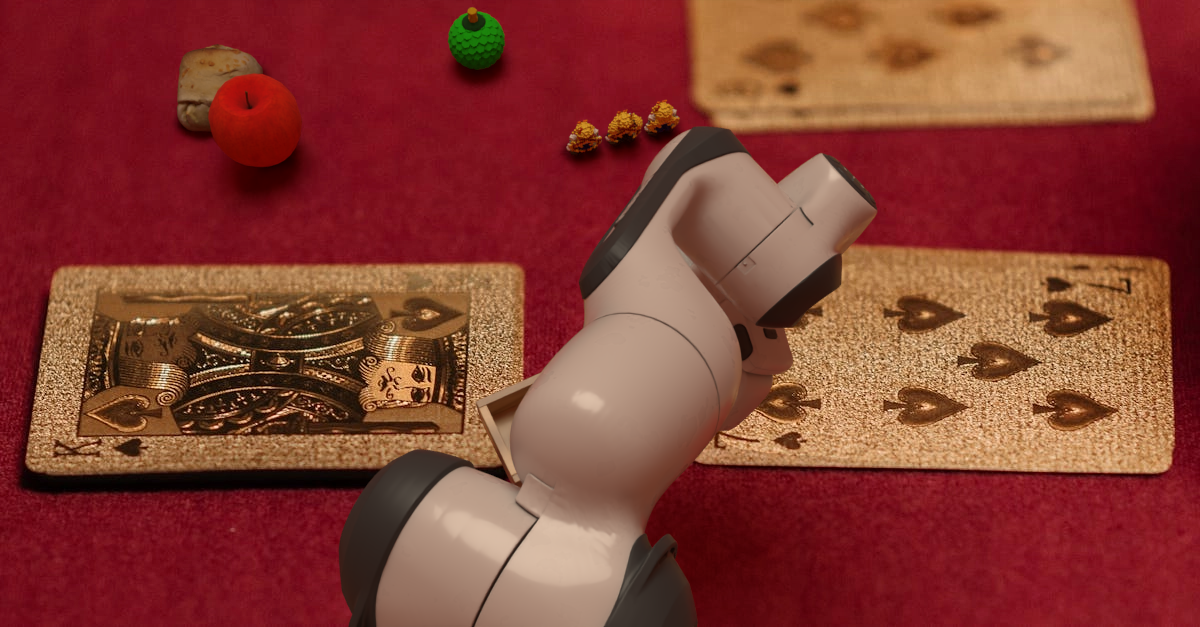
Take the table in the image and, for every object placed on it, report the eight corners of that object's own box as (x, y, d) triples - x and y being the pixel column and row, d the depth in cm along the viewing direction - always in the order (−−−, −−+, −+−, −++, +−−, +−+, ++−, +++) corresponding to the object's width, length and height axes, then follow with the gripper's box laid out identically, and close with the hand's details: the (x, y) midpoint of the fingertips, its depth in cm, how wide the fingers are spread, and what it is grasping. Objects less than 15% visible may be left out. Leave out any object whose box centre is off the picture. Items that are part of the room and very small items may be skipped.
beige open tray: (623, 447, 104) (623, 432, 101) (517, 497, 102) (514, 483, 98) (582, 371, 108) (581, 354, 105) (479, 417, 106) (475, 401, 102)
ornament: (512, 75, 158) (506, 25, 150) (458, 86, 157) (449, 37, 149) (500, 35, 162) (494, -16, 153) (447, 46, 161) (437, -4, 152)
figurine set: (683, 138, 152) (685, 108, 147) (571, 168, 150) (569, 138, 144) (674, 120, 154) (677, 89, 148) (564, 149, 152) (562, 119, 146)
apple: (257, 205, 147) (227, 143, 136) (212, 153, 152) (178, 89, 140) (330, 158, 151) (306, 94, 140) (283, 109, 156) (256, 43, 144)
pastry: (244, 50, 161) (227, 11, 154) (287, 101, 156) (272, 62, 149) (158, 97, 157) (137, 58, 150) (200, 150, 152) (180, 113, 145)
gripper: (658, 206, 105) (570, 297, 111) (767, 377, 96) (664, 464, 102) (696, 215, 110) (609, 302, 116) (802, 378, 101) (702, 462, 107)
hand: (636, 379), depth 109 cm, fingers closed on small box, 6 cm apart
